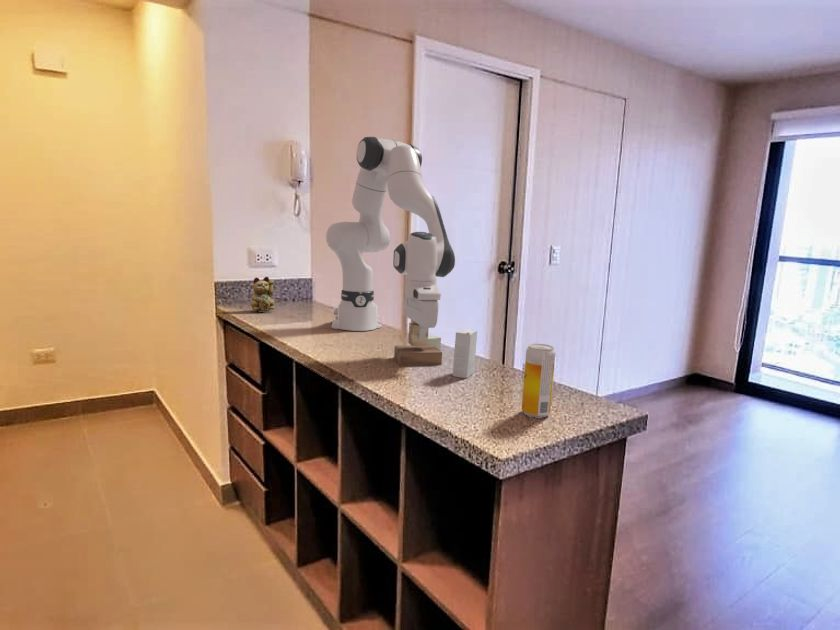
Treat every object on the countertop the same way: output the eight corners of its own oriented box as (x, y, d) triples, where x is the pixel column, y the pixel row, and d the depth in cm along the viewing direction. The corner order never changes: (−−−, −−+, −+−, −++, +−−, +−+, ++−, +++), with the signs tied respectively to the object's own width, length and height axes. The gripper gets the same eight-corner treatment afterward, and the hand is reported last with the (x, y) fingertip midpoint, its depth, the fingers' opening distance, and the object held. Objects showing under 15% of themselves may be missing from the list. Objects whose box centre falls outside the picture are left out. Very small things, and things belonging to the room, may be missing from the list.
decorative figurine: (255, 314, 220) (254, 277, 217) (246, 311, 226) (246, 275, 224) (277, 312, 226) (277, 276, 224) (268, 309, 232) (268, 274, 230)
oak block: (408, 342, 157) (409, 322, 156) (422, 342, 158) (423, 322, 157) (412, 346, 153) (413, 325, 152) (427, 345, 154) (428, 325, 153)
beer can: (537, 407, 120) (542, 342, 118) (555, 416, 115) (562, 348, 112) (515, 411, 117) (520, 344, 115) (533, 420, 112) (539, 350, 109)
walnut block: (394, 358, 159) (394, 345, 159) (432, 357, 162) (433, 345, 162) (400, 367, 151) (401, 353, 150) (441, 365, 154) (442, 352, 153)
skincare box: (459, 371, 148) (462, 328, 146) (475, 373, 146) (477, 329, 144) (451, 376, 142) (454, 331, 140) (467, 379, 140) (470, 333, 138)
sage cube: (418, 351, 169) (418, 335, 168) (431, 349, 171) (431, 334, 170) (427, 355, 165) (427, 339, 164) (440, 353, 167) (441, 337, 166)
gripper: (399, 285, 162) (398, 330, 164) (420, 294, 143) (418, 345, 145) (419, 285, 164) (417, 329, 166) (443, 294, 144) (440, 344, 147)
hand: (418, 337), depth 155 cm, fingers closed on oak block, 4 cm apart
